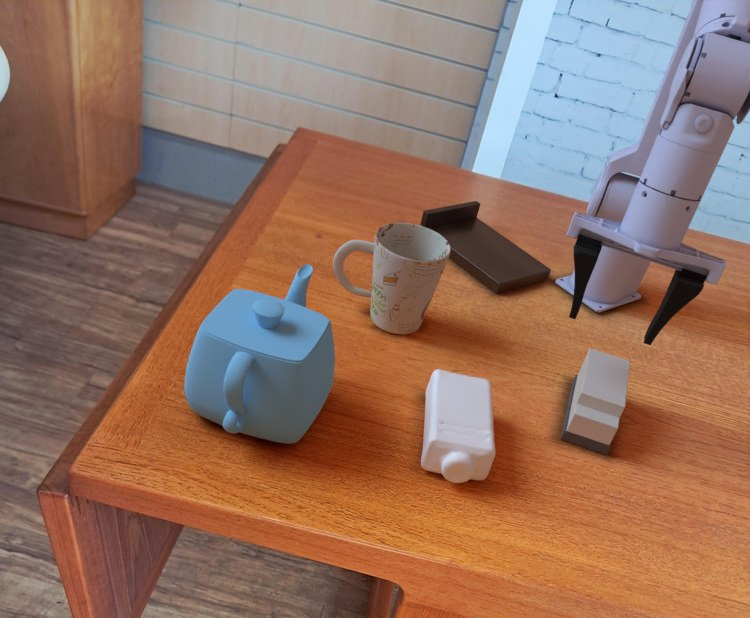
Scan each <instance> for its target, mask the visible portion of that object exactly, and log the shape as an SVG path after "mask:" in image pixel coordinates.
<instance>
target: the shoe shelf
mask: <svg viewBox="0 0 750 618" xmlns="http://www.w3.org/2000/svg"><path fill="white" fill-rule="evenodd" d="M480 208H481V203H480V202H478V201H477V200H474V201H467V202H463V203H457V204H451V205H445V206H442V207H436V208H430V209H426V210H423V212H422V215H421V220H420V224H419V225H420V226H423V227H426V228H429V229H431V230H433V231H435V232H437V233H438V234H440V235H441V236H443V237H444V238H445V239H446V240H447V242H448V243H449V245H450V248H451V250H450V255H449V258H448V259H450V260H451V261H452V262H454V264H456V265H457V266H459V267H460V268H461V269H463V270H464V271H466V272H467V273H468V274H469V275H471V276H472V277H473V278H475V279H476V280H477V281H478V282H480V283H481V284H483V285H484V286H485V287H487V288H488V289H489V290H491V291H492V292H493V293H494V294H498V295H499V294H501V293H505V292H508V291H511V290H515V289H518V288H522V287H526V286H529V285H533V284H536V283H540V282H543V281H547V280H549V277H550V276H551V275H550V274H551V271H552V269H551V268H550V267H548V266H547V265H545V264H544V263H543V262H541V261H540V260H538V258H537V259H536V258H535V257H534V256H533V255H531V254H530V253H528V252H527V251H525V250H524V249H522V248H521V247H520V246H518V245H517V244H515V242H512V241H511V240H510V239H508V238H507V237H505V236H504V235H503V234H501V233H500V232H498V231H497V230H495V228H492V227H491V226H489V224H487V223H486V222H484V221H483V220H481V219H480V218H478V214H479V211H480Z"/></svg>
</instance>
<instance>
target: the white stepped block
mask: <svg viewBox="0 0 750 618" xmlns="http://www.w3.org/2000/svg"><path fill="white" fill-rule="evenodd" d="M630 367H631V361H630V360H628V359H625V358H621V357H618V356H615V355H612V354H610V353H606V352H603V351H601V350H597V349H595V348H591V347H590V348H589V349H588V351H587V353H586V356H585V358H584V360H583V362H582V365H581V366H580V369H579V370H578V373H577V374H575V376H574V378H573V380H572V382H571V386H570V391H569V395H568V400H567V405H566V411H565V414H564V420H563V424H562V430H561V434H560V440H562V441H564V442H567V443H571V444H573V445H576V446H579V447H583V448H586V449H588V450H591V451H595V452H598V453H601V454H603V455H608V453H609V451H610V449H611V447H612V441H613V439H614V438H615V435H616V433H617V431H618V429H619V427H620V426H619V425H620V419H621V416H622V414H623V413H624V410H625V409H626V404H627V403H626V402H627V394H628V386H629V377H630V369H631V368H630Z"/></svg>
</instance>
